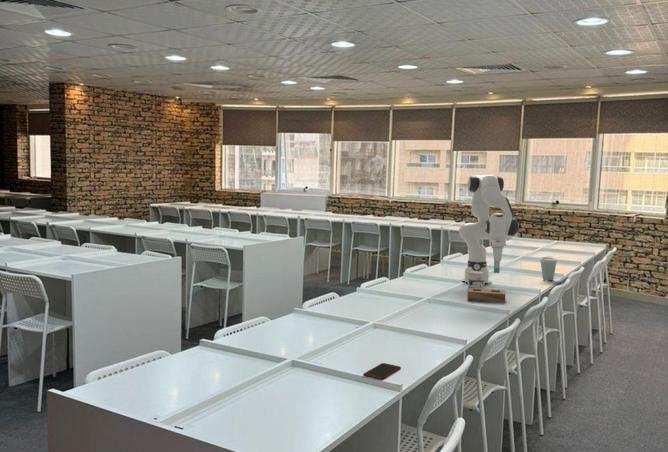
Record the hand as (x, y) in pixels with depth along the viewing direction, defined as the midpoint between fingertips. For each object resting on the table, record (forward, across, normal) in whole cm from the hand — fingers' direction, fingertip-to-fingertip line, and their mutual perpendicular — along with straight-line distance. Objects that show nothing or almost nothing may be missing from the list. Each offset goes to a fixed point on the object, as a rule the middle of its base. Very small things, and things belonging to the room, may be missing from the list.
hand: (496, 267), depth 316 cm
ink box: (+19, -22, -11) cm, 31 cm away
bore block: (+19, 0, -5) cm, 19 cm away
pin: (+3, 0, 0) cm, 3 cm away
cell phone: (+20, +133, -41) cm, 140 cm away
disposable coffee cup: (+18, -75, +35) cm, 85 cm away
